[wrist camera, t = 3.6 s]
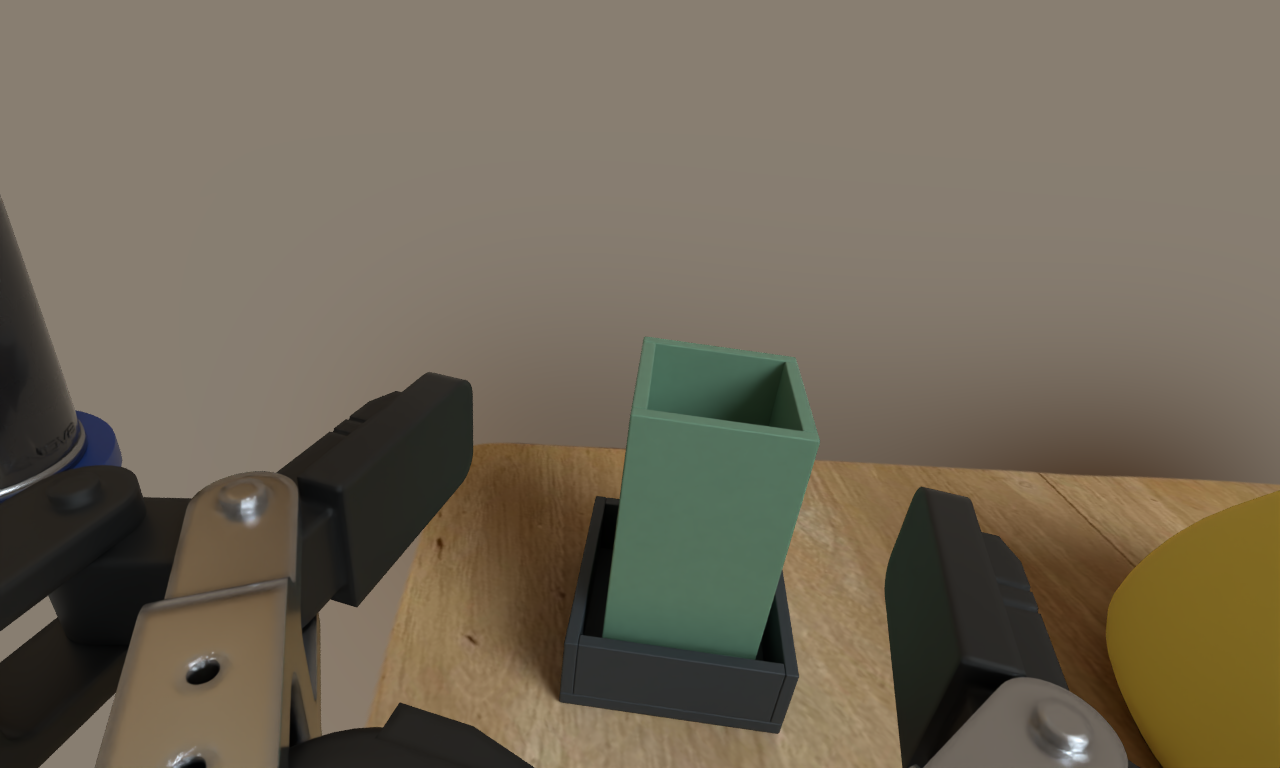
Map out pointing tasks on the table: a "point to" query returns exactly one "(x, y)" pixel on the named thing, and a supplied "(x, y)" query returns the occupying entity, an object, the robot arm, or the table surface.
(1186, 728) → the teapot
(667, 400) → the green square holder
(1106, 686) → the table surface
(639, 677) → the dark grey square tray
